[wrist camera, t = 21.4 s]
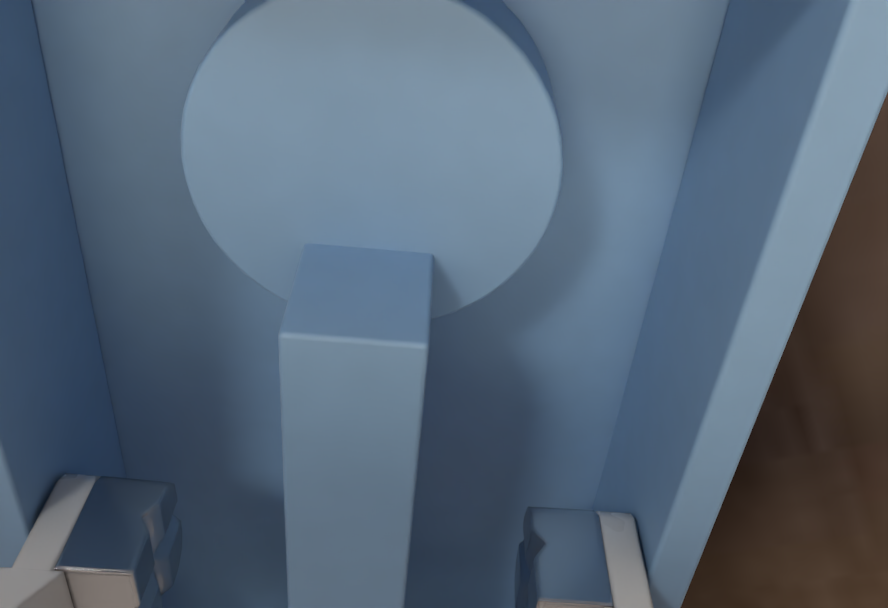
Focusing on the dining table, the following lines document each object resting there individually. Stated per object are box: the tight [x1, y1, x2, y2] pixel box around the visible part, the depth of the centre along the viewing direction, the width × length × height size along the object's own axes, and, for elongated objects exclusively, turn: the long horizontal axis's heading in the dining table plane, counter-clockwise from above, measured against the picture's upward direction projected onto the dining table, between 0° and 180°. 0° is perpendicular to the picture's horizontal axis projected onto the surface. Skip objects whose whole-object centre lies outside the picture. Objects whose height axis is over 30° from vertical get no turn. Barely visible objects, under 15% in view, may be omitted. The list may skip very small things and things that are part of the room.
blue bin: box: [0, 0, 888, 608], centre depth 12 cm, size 15×9×4 cm, turn 175°
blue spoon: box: [180, 0, 564, 608], centre depth 12 cm, size 11×4×3 cm, turn 175°
